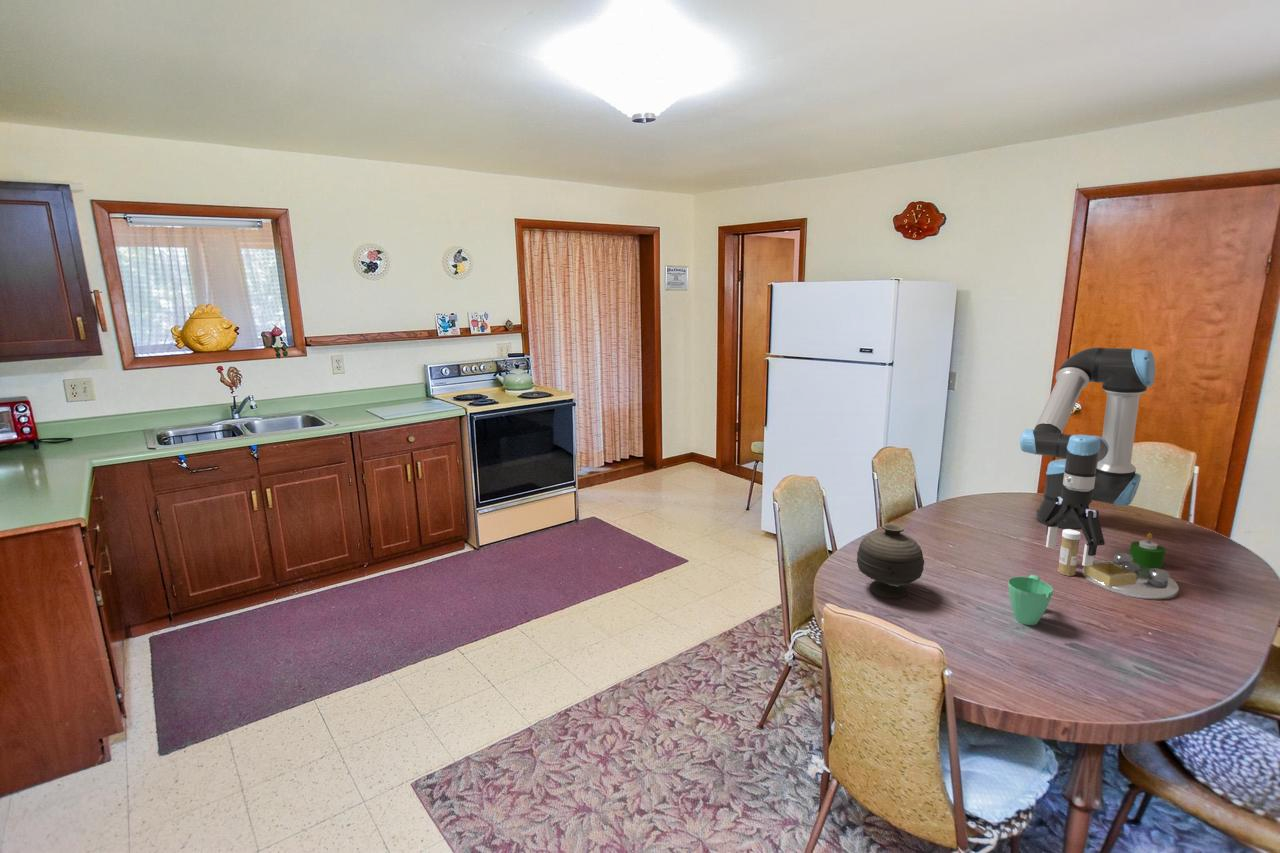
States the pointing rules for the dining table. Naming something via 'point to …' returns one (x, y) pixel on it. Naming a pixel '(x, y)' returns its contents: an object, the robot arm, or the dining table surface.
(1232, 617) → the dining table surface
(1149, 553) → the candle
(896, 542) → the pot
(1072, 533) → the sprinkles bottle
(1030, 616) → the mug
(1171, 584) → the carrier
